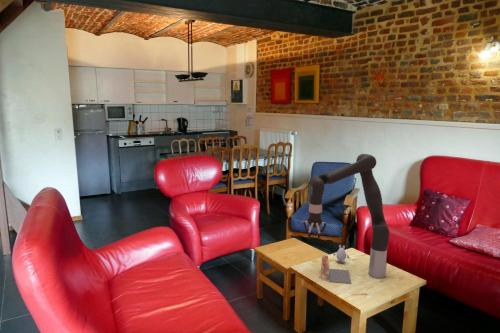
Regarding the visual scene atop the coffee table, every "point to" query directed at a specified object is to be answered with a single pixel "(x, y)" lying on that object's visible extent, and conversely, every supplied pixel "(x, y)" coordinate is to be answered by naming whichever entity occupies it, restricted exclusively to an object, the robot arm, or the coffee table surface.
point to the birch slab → (325, 267)
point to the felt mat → (339, 276)
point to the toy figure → (341, 254)
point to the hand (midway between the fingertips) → (313, 238)
